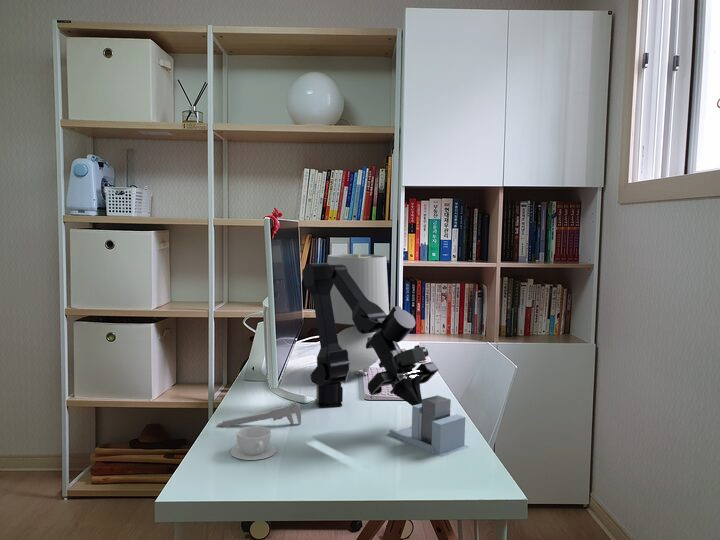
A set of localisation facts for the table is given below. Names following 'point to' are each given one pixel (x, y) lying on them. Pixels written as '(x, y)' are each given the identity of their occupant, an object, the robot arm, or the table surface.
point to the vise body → (439, 435)
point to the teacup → (253, 443)
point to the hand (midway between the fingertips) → (421, 409)
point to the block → (433, 415)
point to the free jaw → (416, 421)
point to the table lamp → (374, 286)
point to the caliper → (267, 416)
